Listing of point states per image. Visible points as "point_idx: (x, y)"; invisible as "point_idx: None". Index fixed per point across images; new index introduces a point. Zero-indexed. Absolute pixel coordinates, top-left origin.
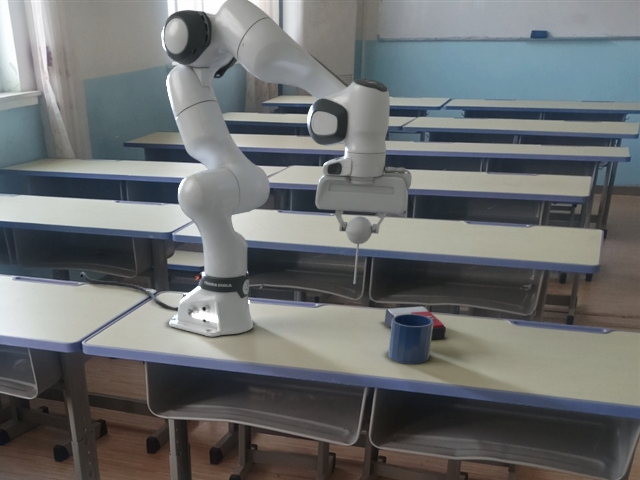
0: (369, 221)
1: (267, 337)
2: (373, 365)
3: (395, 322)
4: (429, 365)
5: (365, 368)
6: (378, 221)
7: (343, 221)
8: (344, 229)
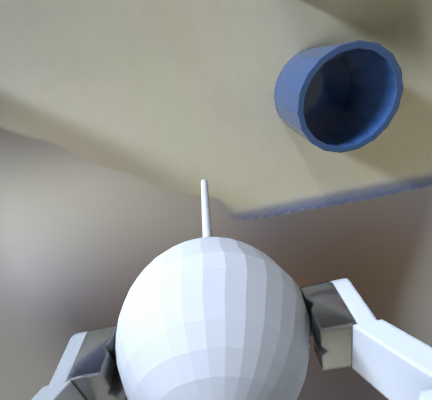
0: (299, 379)
1: (12, 126)
2: (262, 165)
3: (311, 138)
4: None
5: (254, 184)
6: (387, 391)
7: (73, 393)
8: None
